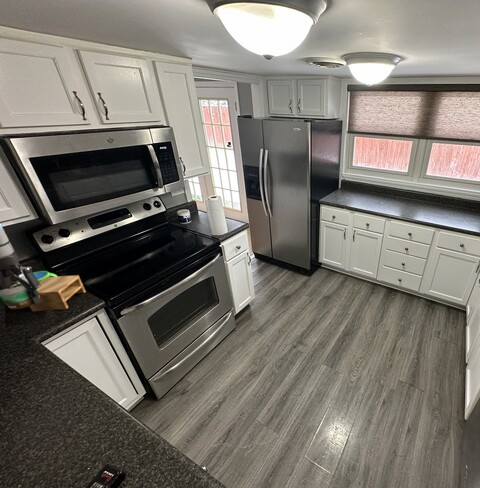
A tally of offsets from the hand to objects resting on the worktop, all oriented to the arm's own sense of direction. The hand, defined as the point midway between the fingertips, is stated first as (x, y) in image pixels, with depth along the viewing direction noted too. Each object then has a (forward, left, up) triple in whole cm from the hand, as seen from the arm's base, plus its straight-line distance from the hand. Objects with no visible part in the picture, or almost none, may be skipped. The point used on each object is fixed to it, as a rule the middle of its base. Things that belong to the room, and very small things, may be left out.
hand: (27, 303), depth 111 cm
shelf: (-2, +16, -11) cm, 19 cm away
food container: (+1, 0, 0) cm, 1 cm away
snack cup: (-15, +24, -11) cm, 30 cm away
